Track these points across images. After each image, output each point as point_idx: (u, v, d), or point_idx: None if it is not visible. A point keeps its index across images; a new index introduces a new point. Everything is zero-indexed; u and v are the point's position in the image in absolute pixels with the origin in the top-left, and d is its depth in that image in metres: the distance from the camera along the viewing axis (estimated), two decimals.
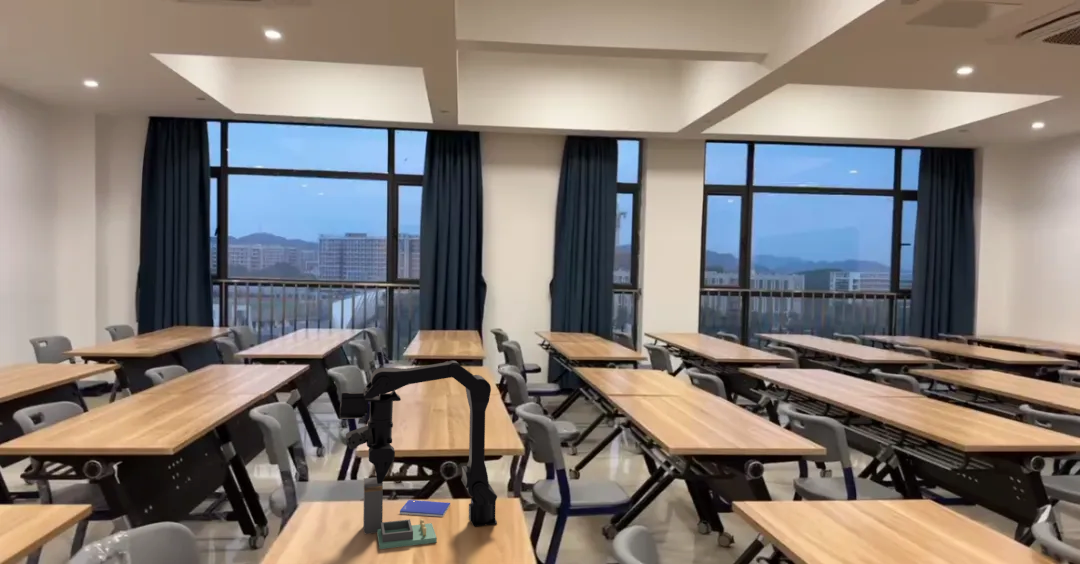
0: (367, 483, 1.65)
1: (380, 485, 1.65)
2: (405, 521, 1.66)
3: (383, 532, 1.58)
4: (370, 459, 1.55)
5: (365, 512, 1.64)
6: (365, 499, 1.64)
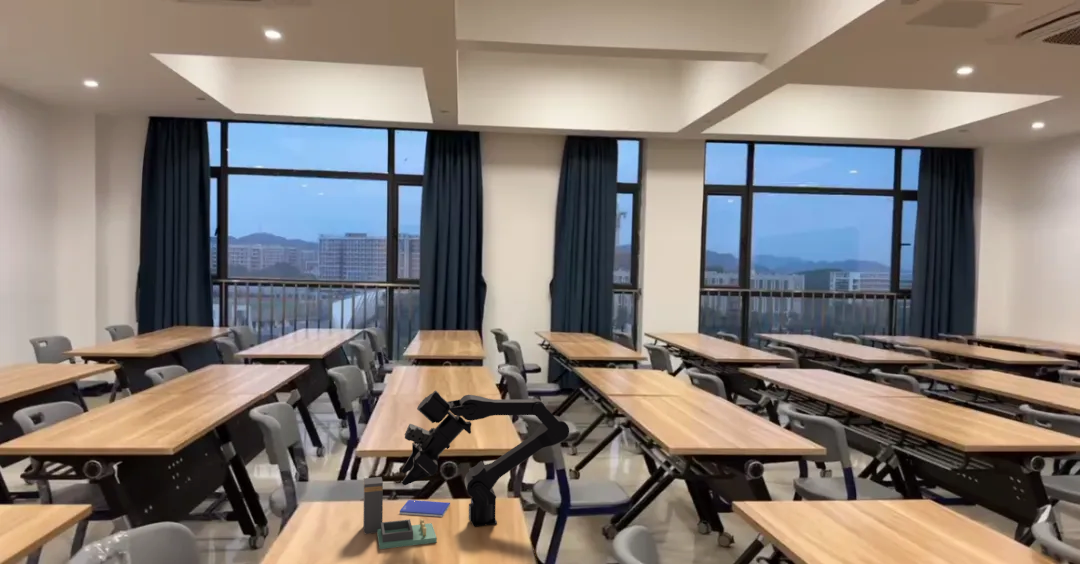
0: (367, 483, 1.65)
1: (380, 485, 1.65)
2: (405, 521, 1.66)
3: (383, 532, 1.58)
4: (417, 460, 1.60)
5: (365, 512, 1.64)
6: (365, 499, 1.64)
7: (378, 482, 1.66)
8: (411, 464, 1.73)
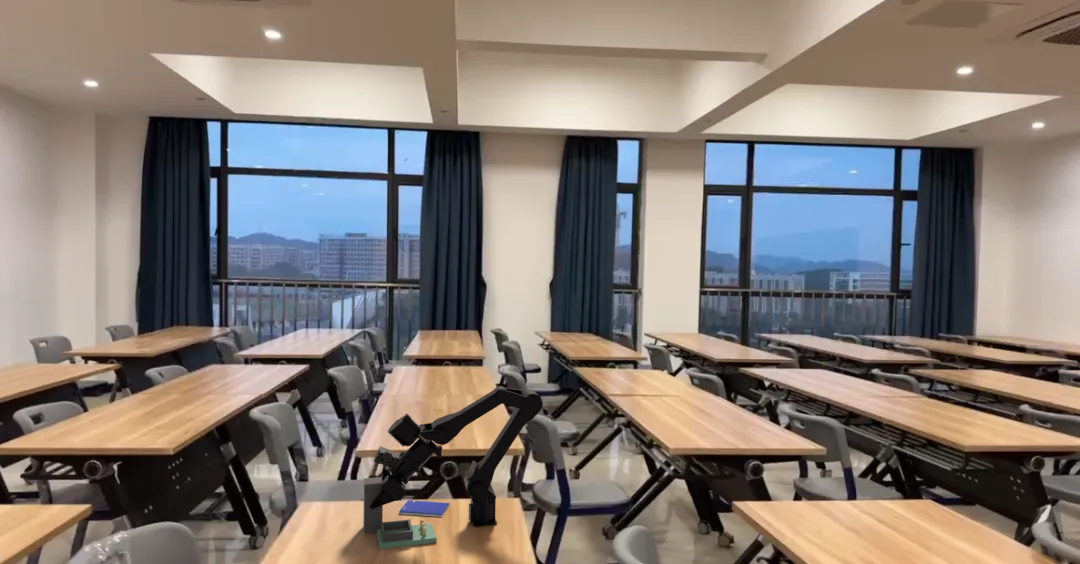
0: (367, 483, 1.65)
1: (380, 485, 1.65)
2: (405, 521, 1.66)
3: (383, 532, 1.58)
4: (384, 485, 1.59)
5: (365, 512, 1.64)
6: (365, 499, 1.64)
7: (378, 482, 1.66)
8: None
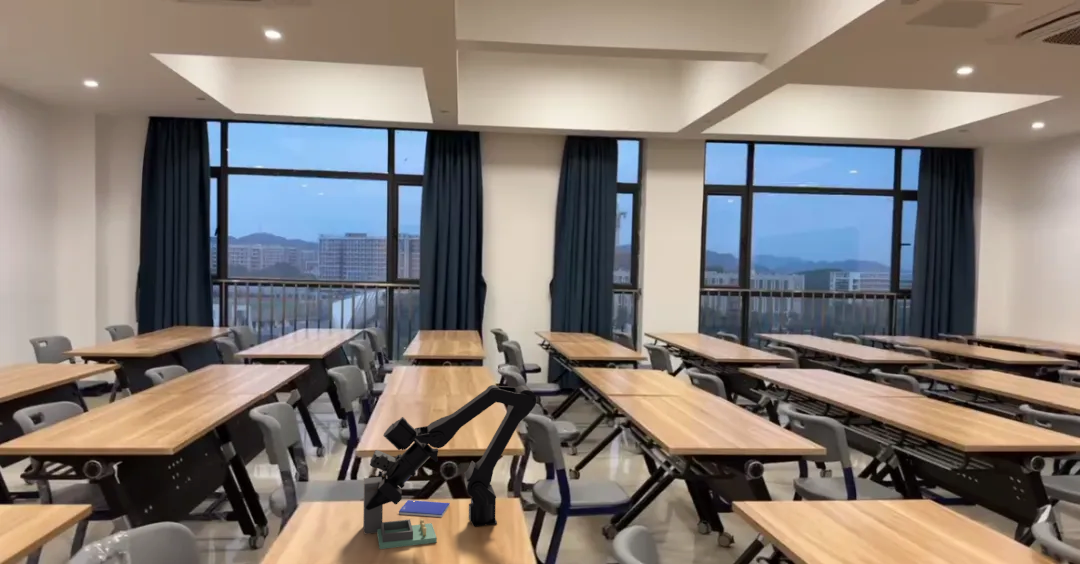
0: (367, 483, 1.65)
1: None
2: (405, 521, 1.66)
3: (383, 532, 1.58)
4: (380, 489, 1.58)
5: (365, 512, 1.64)
6: (365, 499, 1.64)
7: None
8: None
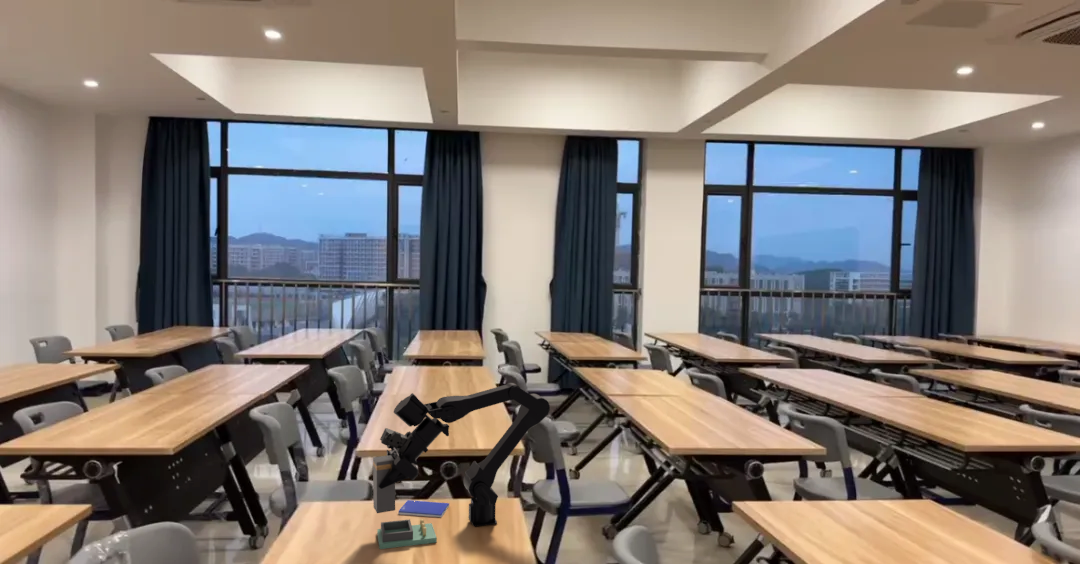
0: (379, 461, 1.62)
1: None
2: (405, 521, 1.66)
3: (383, 532, 1.58)
4: (397, 465, 1.56)
5: (378, 491, 1.61)
6: (377, 477, 1.61)
7: (390, 460, 1.63)
8: None
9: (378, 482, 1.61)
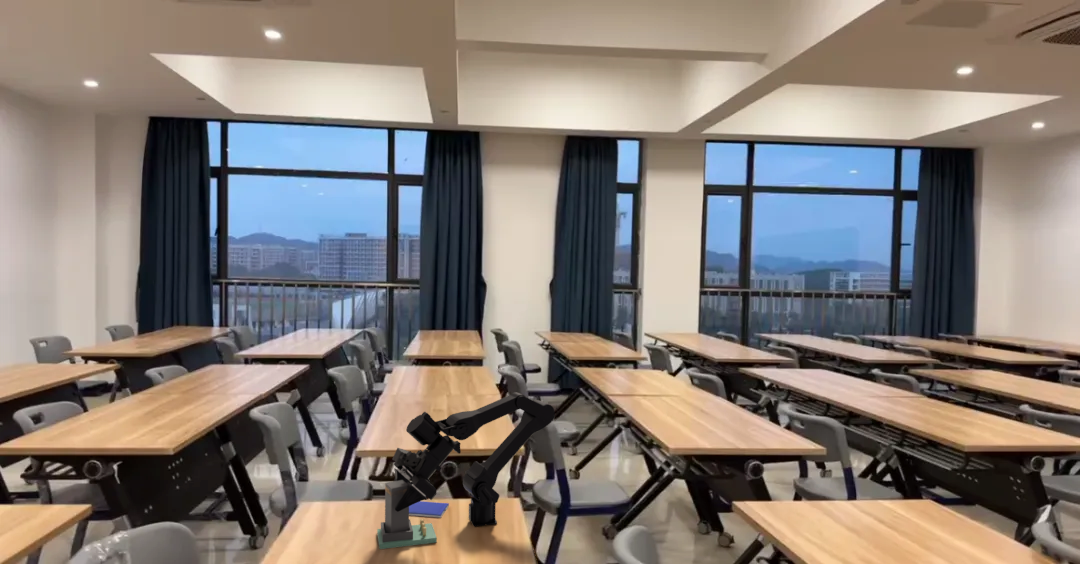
0: (393, 487, 1.59)
1: None
2: None
3: (383, 532, 1.58)
4: (416, 485, 1.54)
5: (392, 517, 1.59)
6: (392, 504, 1.59)
7: (404, 485, 1.61)
8: None
9: (393, 508, 1.59)
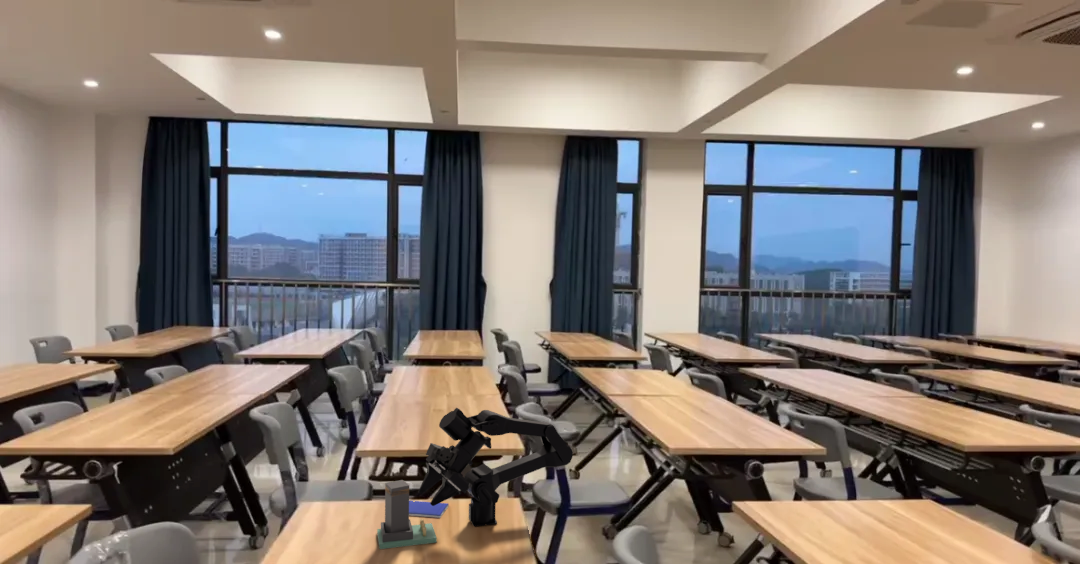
0: (393, 487, 1.59)
1: (407, 488, 1.60)
2: None
3: (383, 532, 1.58)
4: (451, 479, 1.59)
5: (392, 517, 1.59)
6: (392, 504, 1.59)
7: (404, 485, 1.61)
8: (428, 484, 1.70)
9: (393, 508, 1.59)
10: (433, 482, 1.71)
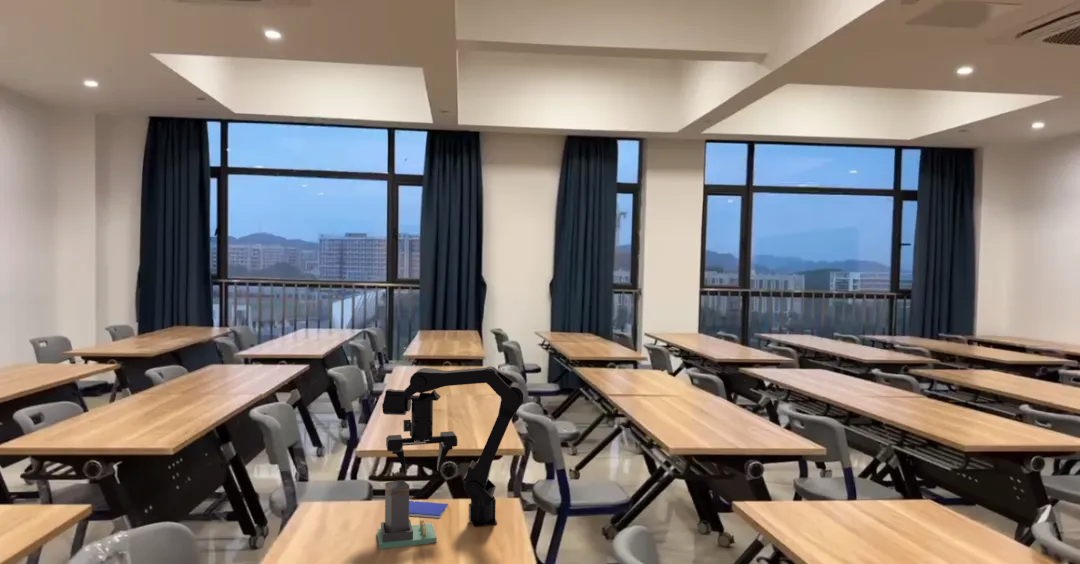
0: (393, 487, 1.59)
1: (407, 488, 1.60)
2: None
3: (383, 532, 1.58)
4: None
5: (392, 517, 1.59)
6: (392, 504, 1.59)
7: (404, 485, 1.61)
8: (438, 460, 1.75)
9: (393, 508, 1.59)
10: (440, 457, 1.74)
